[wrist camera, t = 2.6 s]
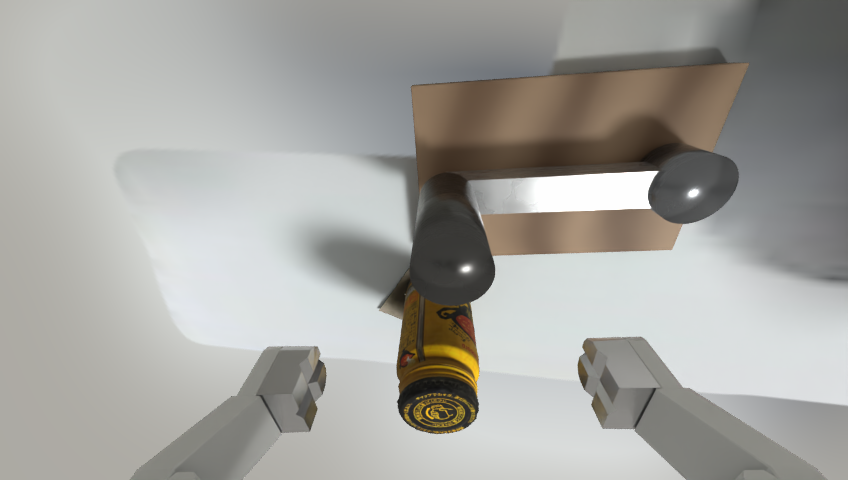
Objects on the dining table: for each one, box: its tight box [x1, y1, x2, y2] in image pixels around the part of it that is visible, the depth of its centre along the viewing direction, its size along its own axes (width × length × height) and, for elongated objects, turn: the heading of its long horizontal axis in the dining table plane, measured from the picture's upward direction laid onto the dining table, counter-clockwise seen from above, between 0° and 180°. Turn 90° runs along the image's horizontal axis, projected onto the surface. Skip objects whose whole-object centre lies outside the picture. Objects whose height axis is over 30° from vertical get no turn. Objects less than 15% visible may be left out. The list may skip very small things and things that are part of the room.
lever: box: [409, 143, 739, 306], centre depth 17 cm, size 19×4×10 cm, turn 94°
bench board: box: [411, 63, 749, 256], centre depth 22 cm, size 20×13×2 cm, turn 94°
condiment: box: [379, 268, 479, 434], centre depth 25 cm, size 7×8×12 cm
